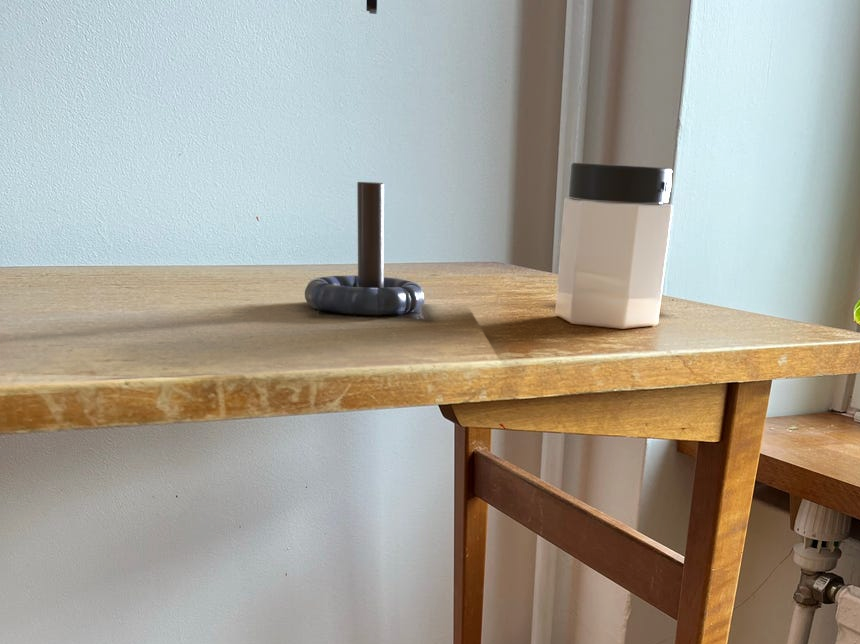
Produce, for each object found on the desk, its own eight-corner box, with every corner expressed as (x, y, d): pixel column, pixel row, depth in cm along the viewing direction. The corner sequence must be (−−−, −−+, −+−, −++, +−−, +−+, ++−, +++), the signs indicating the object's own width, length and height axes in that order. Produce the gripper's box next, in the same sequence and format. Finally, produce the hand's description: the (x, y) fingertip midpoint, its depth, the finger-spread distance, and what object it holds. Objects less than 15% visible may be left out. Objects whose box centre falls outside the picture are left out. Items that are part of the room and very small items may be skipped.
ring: (301, 315, 72) (300, 286, 71) (309, 298, 80) (308, 272, 80) (426, 319, 73) (426, 291, 72) (421, 302, 81) (421, 276, 81)
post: (317, 328, 73) (313, 181, 69) (322, 312, 80) (319, 178, 76) (423, 332, 74) (427, 187, 70) (419, 315, 81) (422, 183, 77)
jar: (670, 330, 81) (691, 169, 76) (576, 328, 79) (591, 164, 74) (632, 313, 89) (649, 166, 83) (546, 311, 87) (557, 161, 82)
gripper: (137, -381, 55) (159, -17, 62) (444, -337, 57) (430, 9, 64) (162, -323, 61) (179, -1, 69) (436, -286, 64) (424, 23, 71)
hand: (300, 4), depth 67 cm, fingers open, 9 cm apart
